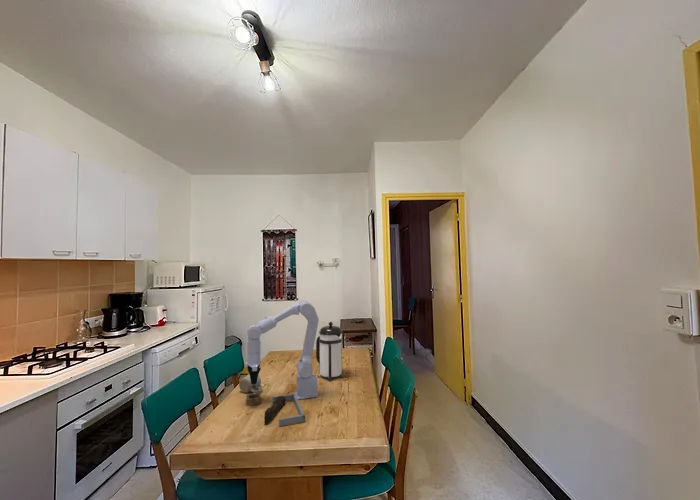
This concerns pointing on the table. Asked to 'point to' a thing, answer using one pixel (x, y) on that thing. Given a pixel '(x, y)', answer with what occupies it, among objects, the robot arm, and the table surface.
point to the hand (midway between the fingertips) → (253, 382)
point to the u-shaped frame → (292, 419)
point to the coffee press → (330, 351)
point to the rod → (252, 385)
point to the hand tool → (273, 409)
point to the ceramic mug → (245, 385)
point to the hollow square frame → (253, 399)
